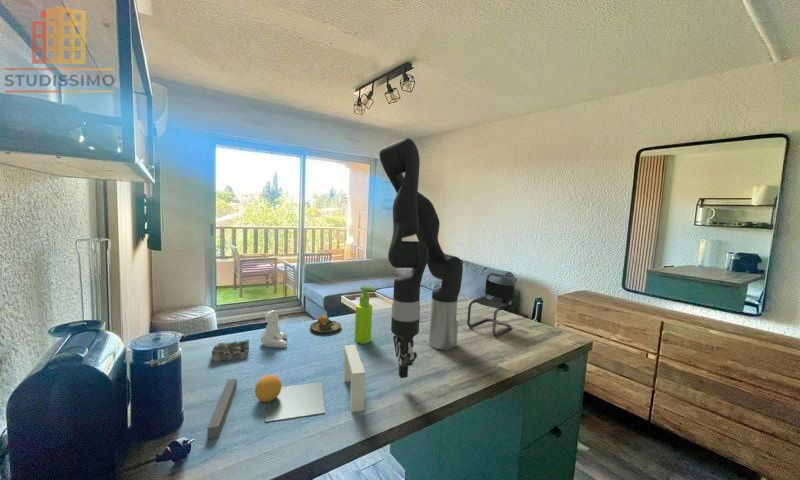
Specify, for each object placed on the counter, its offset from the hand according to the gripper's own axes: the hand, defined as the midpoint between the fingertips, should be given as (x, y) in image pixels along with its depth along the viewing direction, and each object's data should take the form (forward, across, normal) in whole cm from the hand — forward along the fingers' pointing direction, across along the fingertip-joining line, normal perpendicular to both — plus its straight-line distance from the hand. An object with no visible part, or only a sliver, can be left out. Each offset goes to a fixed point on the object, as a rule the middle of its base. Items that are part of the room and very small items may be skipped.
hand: (402, 376), depth 84 cm
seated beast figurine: (+3, +35, +35) cm, 50 cm away
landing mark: (+3, +1, +28) cm, 28 cm away
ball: (0, +3, +34) cm, 34 cm away
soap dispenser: (+3, +32, +4) cm, 32 cm away
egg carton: (+3, +30, +47) cm, 56 cm away
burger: (+4, +45, +17) cm, 48 cm away
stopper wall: (+3, +1, +44) cm, 44 cm away
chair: (+4, +32, -51) cm, 61 cm away
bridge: (+3, +1, +14) cm, 14 cm away
